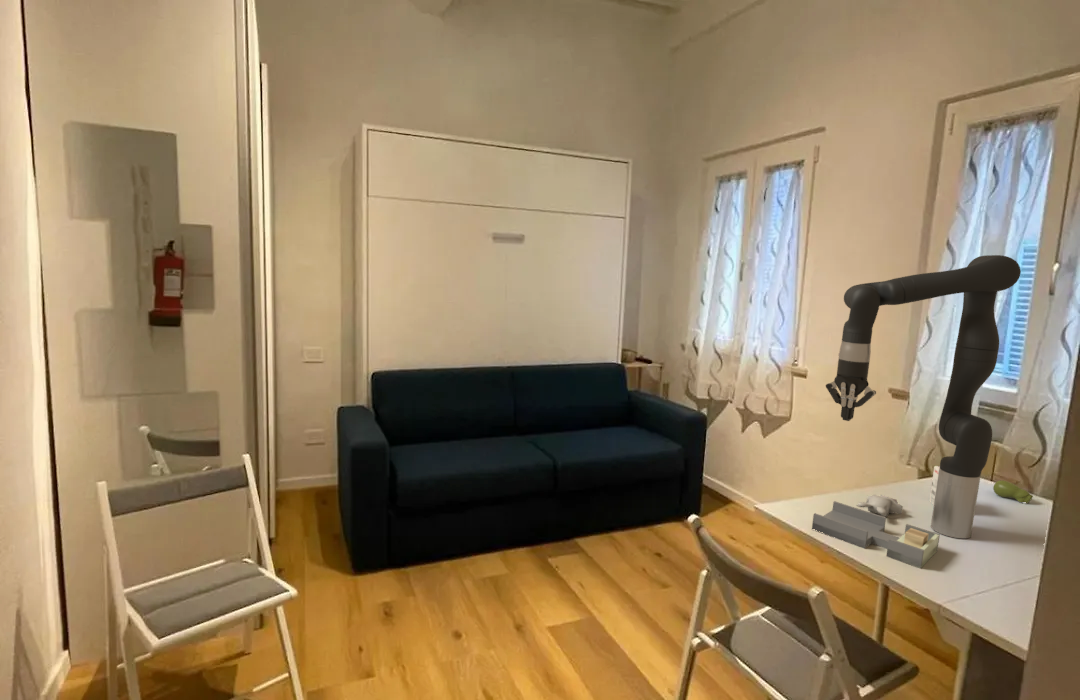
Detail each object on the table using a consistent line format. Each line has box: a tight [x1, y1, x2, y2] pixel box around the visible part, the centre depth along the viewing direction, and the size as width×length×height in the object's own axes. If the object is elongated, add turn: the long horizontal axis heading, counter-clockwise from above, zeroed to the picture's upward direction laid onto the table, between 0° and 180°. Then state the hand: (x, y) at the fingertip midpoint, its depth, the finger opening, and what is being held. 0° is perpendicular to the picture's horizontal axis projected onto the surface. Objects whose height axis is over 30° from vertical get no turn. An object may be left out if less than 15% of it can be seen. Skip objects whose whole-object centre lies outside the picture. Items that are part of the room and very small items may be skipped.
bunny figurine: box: [856, 494, 904, 517], centre depth 175 cm, size 10×5×15 cm
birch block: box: [904, 528, 929, 549], centre depth 149 cm, size 4×4×4 cm
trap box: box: [811, 500, 941, 569], centre depth 157 cm, size 14×26×4 cm, turn 43°
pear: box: [992, 479, 1034, 504], centre depth 190 cm, size 6×5×10 cm
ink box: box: [929, 465, 940, 506], centre depth 180 cm, size 9×5×12 cm, turn 168°
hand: (846, 420), depth 165 cm, fingers closed
